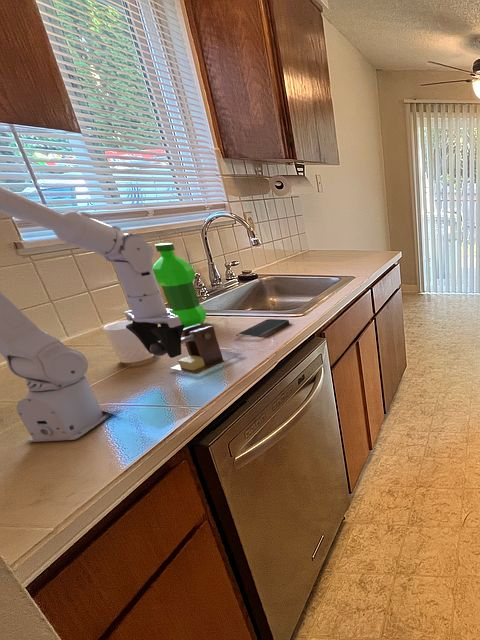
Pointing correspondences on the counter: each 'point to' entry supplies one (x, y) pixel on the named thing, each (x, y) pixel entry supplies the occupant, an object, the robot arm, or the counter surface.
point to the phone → (265, 328)
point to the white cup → (126, 343)
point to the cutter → (159, 349)
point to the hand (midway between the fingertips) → (165, 353)
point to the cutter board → (205, 348)
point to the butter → (191, 362)
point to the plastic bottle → (178, 286)
